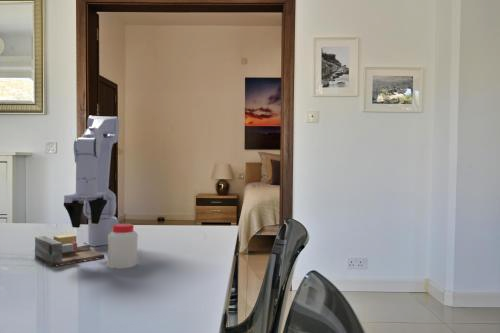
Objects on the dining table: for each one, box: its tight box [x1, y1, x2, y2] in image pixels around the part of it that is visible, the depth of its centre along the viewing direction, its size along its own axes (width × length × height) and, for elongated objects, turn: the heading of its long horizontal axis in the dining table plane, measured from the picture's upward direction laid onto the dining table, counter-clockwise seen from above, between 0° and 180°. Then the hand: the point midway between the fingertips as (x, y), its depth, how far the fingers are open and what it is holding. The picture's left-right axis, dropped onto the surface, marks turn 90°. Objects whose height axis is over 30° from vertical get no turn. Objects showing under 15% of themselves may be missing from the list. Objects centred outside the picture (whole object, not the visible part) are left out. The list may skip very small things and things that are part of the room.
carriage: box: [53, 233, 77, 244], centre depth 116 cm, size 5×4×4 cm
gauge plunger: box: [62, 241, 78, 252], centre depth 109 cm, size 5×2×2 cm, turn 137°
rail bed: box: [34, 235, 105, 267], centre depth 114 cm, size 14×13×6 cm
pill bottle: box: [107, 223, 139, 270], centre depth 108 cm, size 8×8×11 cm
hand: (85, 225), depth 115 cm, fingers open, 7 cm apart
